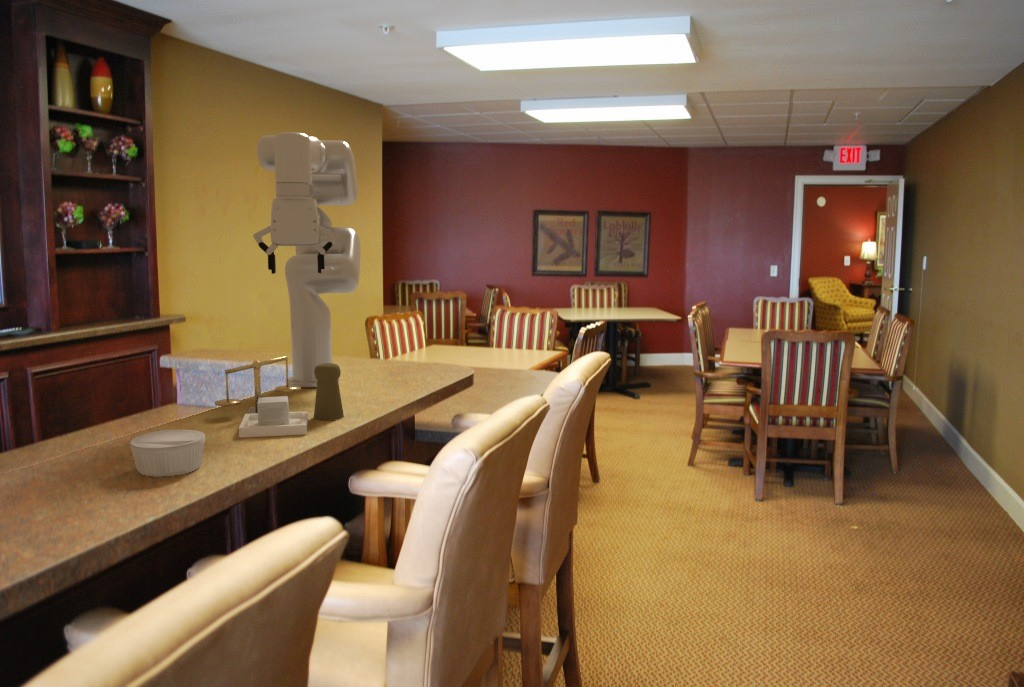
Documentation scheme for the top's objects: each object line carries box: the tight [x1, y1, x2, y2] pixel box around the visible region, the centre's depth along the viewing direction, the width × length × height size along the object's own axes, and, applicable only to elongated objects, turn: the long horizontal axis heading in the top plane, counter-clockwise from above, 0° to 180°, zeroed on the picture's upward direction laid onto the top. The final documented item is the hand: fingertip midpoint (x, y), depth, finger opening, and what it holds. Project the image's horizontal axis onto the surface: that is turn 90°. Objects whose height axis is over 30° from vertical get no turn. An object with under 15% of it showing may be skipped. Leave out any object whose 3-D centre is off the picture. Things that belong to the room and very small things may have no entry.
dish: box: [238, 410, 309, 439], centre depth 162 cm, size 12×12×2 cm
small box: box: [257, 395, 290, 426], centre depth 162 cm, size 6×6×5 cm
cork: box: [313, 362, 345, 421], centre depth 171 cm, size 6×6×11 cm
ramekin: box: [129, 429, 206, 478], centre depth 135 cm, size 11×11×5 cm
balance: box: [214, 355, 301, 414], centre depth 172 cm, size 6×17×12 cm, turn 102°
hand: (296, 273), depth 182 cm, fingers open, 9 cm apart
